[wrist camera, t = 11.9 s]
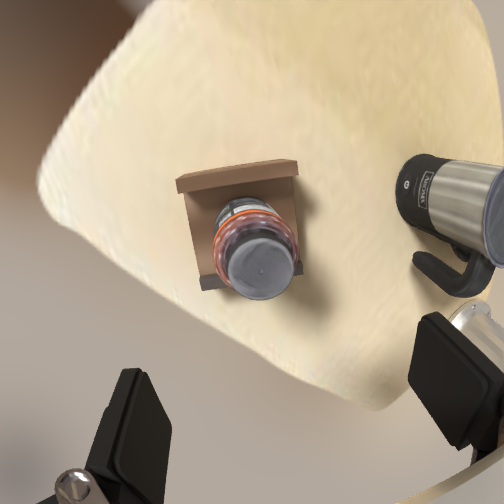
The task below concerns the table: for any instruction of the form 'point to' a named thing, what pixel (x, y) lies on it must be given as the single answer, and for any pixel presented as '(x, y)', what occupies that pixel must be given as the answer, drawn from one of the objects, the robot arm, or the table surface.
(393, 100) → the table surface
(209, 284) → the shelf
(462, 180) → the milk frother
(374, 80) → the table surface
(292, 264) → the supplement bottle
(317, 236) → the table surface
